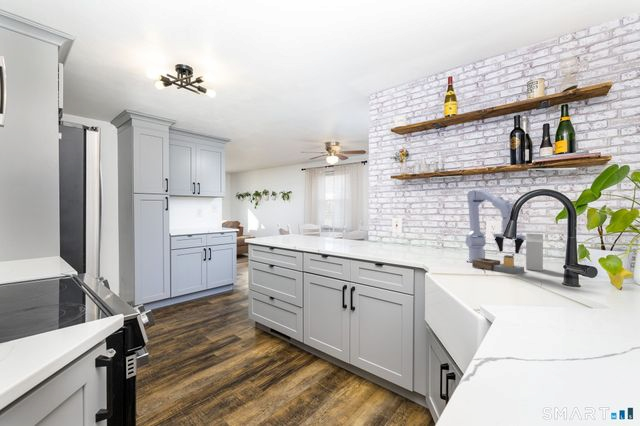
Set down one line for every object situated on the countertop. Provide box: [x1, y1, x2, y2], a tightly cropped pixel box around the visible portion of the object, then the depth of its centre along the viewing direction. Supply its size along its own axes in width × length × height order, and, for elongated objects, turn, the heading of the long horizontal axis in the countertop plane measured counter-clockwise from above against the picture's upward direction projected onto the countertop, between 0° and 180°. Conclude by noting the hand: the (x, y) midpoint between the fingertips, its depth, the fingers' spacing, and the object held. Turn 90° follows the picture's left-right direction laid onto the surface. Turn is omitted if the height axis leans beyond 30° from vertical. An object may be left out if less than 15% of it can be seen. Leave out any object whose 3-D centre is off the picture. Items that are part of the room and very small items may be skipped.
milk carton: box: [525, 233, 544, 272], centre depth 155 cm, size 7×7×19 cm
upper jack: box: [471, 257, 501, 271], centre depth 161 cm, size 10×10×4 cm
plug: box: [503, 255, 515, 268], centre depth 151 cm, size 3×3×8 cm
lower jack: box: [493, 263, 525, 275], centre depth 151 cm, size 10×10×2 cm
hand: (508, 252), depth 151 cm, fingers open, 7 cm apart
